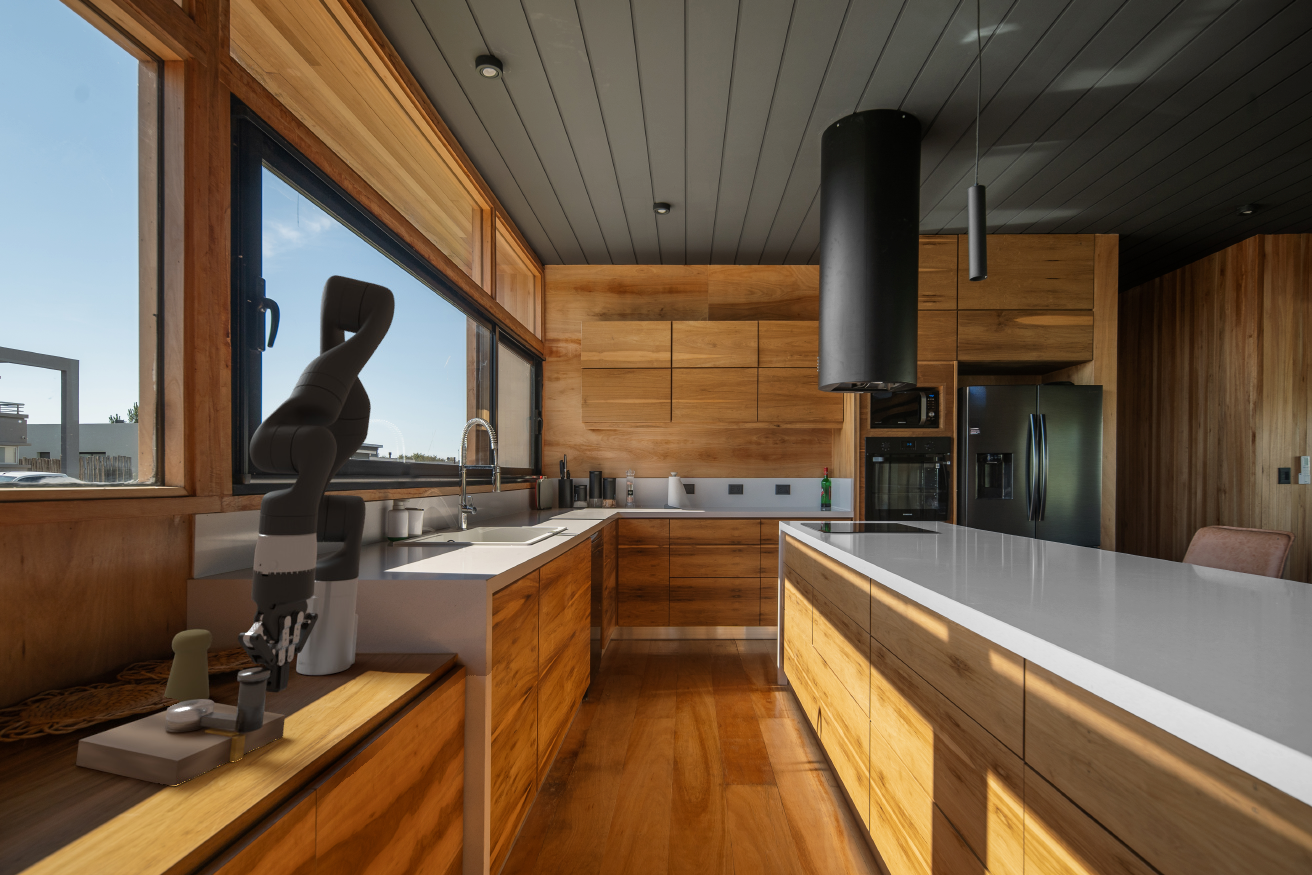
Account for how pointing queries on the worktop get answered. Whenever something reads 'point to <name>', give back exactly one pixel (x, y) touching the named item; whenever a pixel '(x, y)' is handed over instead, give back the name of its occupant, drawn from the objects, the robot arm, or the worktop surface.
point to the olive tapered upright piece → (189, 666)
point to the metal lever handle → (202, 714)
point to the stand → (172, 747)
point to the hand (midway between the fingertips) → (275, 690)
